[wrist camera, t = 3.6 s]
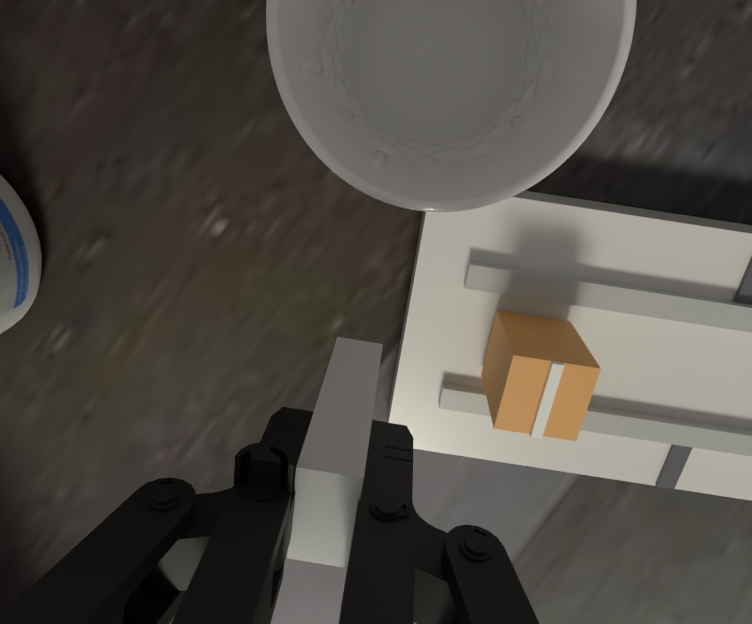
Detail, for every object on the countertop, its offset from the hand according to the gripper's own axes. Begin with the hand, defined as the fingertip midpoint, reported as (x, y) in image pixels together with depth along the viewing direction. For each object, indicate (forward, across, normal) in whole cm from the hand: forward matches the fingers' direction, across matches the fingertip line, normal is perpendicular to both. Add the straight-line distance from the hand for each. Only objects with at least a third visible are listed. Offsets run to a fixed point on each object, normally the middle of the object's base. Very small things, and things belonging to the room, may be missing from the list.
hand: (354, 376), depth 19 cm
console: (+7, +11, 0) cm, 13 cm away
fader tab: (+5, +7, 0) cm, 8 cm away
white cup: (+8, +1, +10) cm, 13 cm away
